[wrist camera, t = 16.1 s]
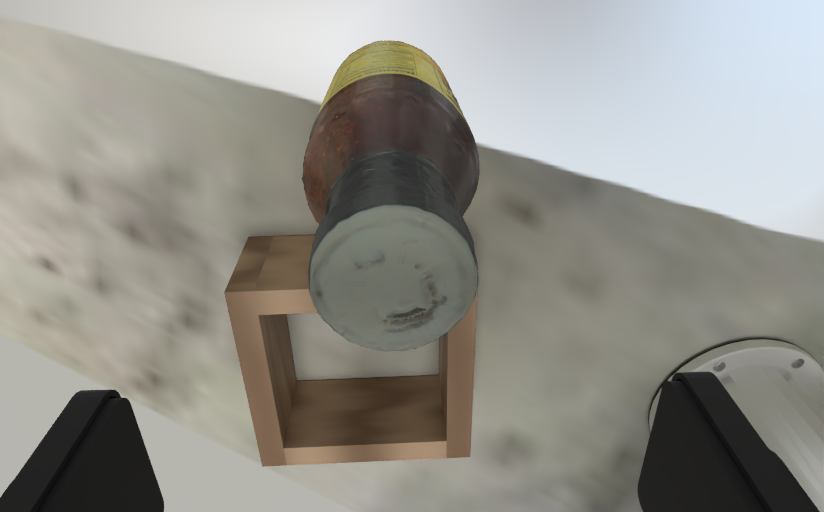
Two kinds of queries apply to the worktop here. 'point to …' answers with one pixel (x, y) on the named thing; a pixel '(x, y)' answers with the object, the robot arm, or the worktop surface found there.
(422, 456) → the walnut sleeve
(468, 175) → the sauce bottle
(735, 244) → the worktop surface
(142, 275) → the worktop surface
